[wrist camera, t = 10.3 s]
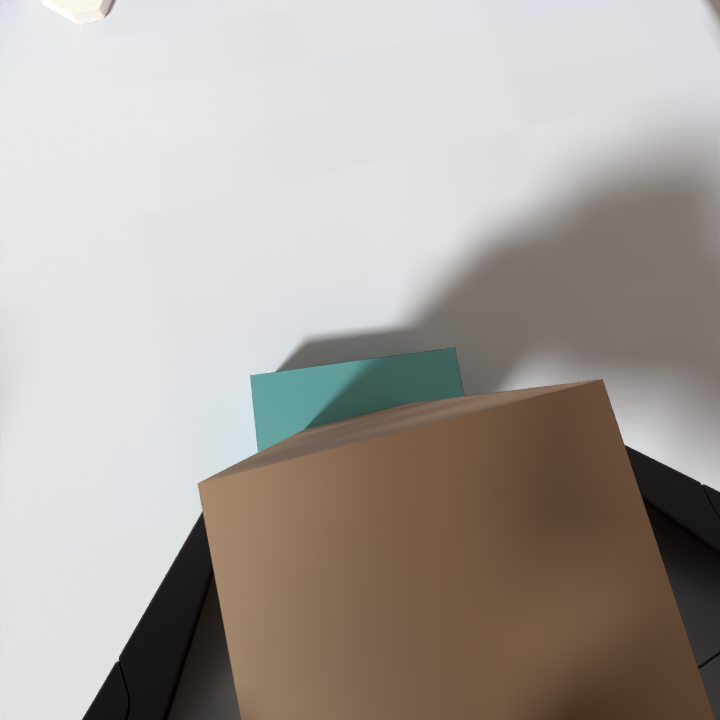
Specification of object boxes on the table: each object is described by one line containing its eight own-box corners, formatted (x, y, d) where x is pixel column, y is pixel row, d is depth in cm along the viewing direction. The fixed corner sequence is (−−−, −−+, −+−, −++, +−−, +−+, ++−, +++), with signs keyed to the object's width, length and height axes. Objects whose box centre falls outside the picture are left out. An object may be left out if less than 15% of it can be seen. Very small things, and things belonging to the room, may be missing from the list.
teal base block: (434, 360, 22) (454, 347, 18) (465, 534, 21) (495, 562, 17) (266, 383, 21) (250, 375, 17) (286, 566, 20) (273, 603, 16)
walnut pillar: (407, 403, 17) (602, 379, 5) (434, 509, 17) (750, 828, 4) (303, 429, 17) (197, 483, 4) (328, 539, 16) (294, 1009, 4)
